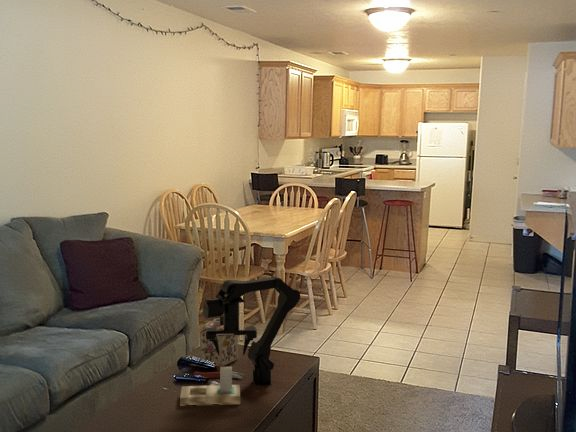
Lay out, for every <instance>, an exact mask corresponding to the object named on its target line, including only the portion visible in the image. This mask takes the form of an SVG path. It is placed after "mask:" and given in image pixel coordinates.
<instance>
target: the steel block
mask: <svg viewBox="0 0 576 432" xmlns="http://www.w3.org/2000/svg"><path fill="white" fill-rule="evenodd" d="M232 372H233V366H223V367H220V378H219V385H220V393H228V392H232V385H233V378H232Z"/></svg>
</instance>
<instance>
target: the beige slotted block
mask: <svg viewBox="0 0 576 432" xmlns="http://www.w3.org/2000/svg"><path fill="white" fill-rule="evenodd" d="M212 404H220V405H219V406H222V405H223V406H225V405H226V406H227V405H228V406H229V405H241V385H240V384H232V392H228V393H220V384H218V385H217V384H216V385H185V386H184V385H183V386H181V391H180V397H179V406H180V407H186V406H185V405H197V406H213V405H212Z"/></svg>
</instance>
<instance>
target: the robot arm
mask: <svg viewBox="0 0 576 432" xmlns="http://www.w3.org/2000/svg"><path fill="white" fill-rule="evenodd" d="M271 289H272V290H273V289H274V290H275V291H276V292H277V293H278V297H277V304H276V308H275V310H274V312H273V313H272V315H271V317H270V319H269V321H268V324H267V325H266V327H265V328H264V331H263V333H262V335H260V338H259V339H258V340H257V341H256V342H255V341H254V339H257V338H258V334H257V328H256V326H245V329H240V304H241V303H244V302H245V299H243V296H244V295H246V294H248V293H253V292H258V291H267V290H271ZM300 300H301V293H300V291H298V290H297V289H295V288H293V287H291V286H290V285H288V284H287V283H286V282H285V281H284V280H283V279H282V278H280V277H278V276H276V275H274V276H271V277H262V278H258V279H250V280H239V279H227V280H224V282H223V283H222V285H221V288H220V290H219V291H218V292H217V294H216V296H215V298H205V299H204V303H203V306H202V315H203V317H204V318H205V319H210V318H217V317H218V318H220V325H224V330H217V327H214V328H207V329H206V339H209V341H212V342H213V344H214V346H215V348H216V351H217V353H218V356H219V355H220V351H219V343H218V336H221V335H238V336H244V339H243V340H244V341H243V348H242V356H245V355H246V351H248V352H247V357H248V360H249V361H251V363H252V365H254V366H253V369H252V382H253V383H254V384H253V385H254V386H270V385H272V370H273V369H274V366H275V363H273V362H272V361H271V360H270V356H271V349H272V344H273V342H274V340H275V339H276V337H277V335H278V333H279V331H280V328H281V327H282V325H283V323H284V321H285V319H286V318H287V315H288V314H289V312H290V311H292V309H295V307H296V306H297V305H298V303H299V302H300ZM250 343H251V345H250V346H249V344H250ZM248 346H249V348H248ZM247 348H248V349H247Z"/></svg>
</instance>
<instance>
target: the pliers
mask: <svg viewBox="0 0 576 432" xmlns="http://www.w3.org/2000/svg"><path fill="white" fill-rule="evenodd" d="M216 368H217V370H218V371H219V372H218V371H212V372H201V371H194V372H193V374H194V375H201V376H204V377H207V378H206V379H218V378H217V377H219V379H220V367H219V366H217V365H216ZM194 375H193V376H194ZM246 376H247V374H245V373H240V372H236V371H232V379H242V380H243V379H245V377H246Z"/></svg>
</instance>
